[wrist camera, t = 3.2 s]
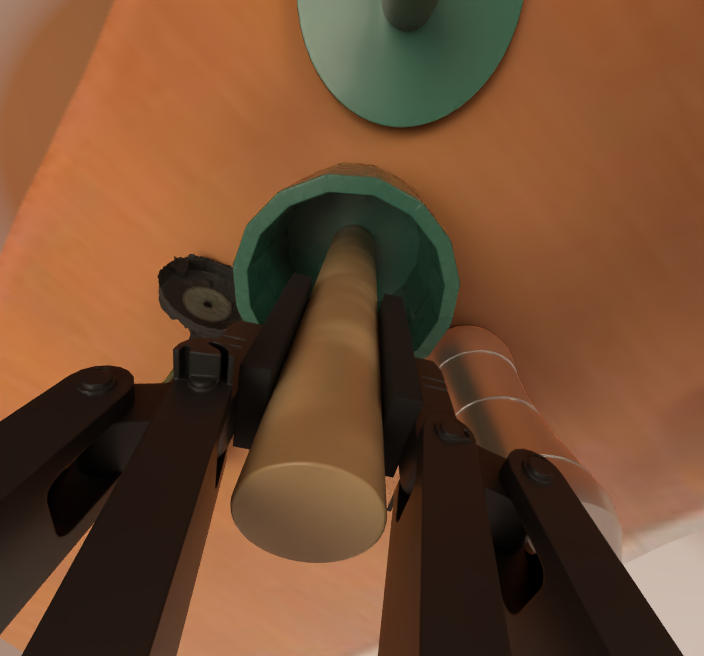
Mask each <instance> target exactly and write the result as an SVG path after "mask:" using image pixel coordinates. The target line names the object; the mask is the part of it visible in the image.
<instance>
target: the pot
mask: <svg viewBox="0 0 704 656" xmlns="http://www.w3.org/2000/svg"><path fill="white" fill-rule="evenodd" d="M347 225H359V226H362V227H364V228H366V229H367V230H368V231H369V232H370V233H371V235H372V236H373V239H374V242H375V259H376V282H377V304H378V313H379V310H380V307H381V303H382V300H383V296H384V293H385V294H389V295H394V296H398V297H402V298H403V303H404V308H405V313H406V318H407V323H408V327H409V332H410V337H411V342H412V347H413V352H414V357H417V358H421V359H425V358H427V356H429V355H430V353H431V352H432V351H433V349H434V348H435V346H436V345H437V344H438V342H439V341H440V339H441V338H442V337H443V335H444V334H445V332H446V331H447V330H448V328H449V327H450V325H451V323H452V319H453V314H454V310H455V305H456V301H457V296H458V292H459V287H460V280H459V275H458V270H457V266H456V261H455V256H454V251H453V247H452V242H451V241H450V238H449V237H448V235H447V234H446V233H445V231H444V230H443V229H442V227H441V226H440V225H439V223H438V222H437V221H436V219H435V218H434V217H433V215H432V214H431V213H430V211H429V210H428V209H427V207H426V206H425V205H424V203H423V202H422V201H421V200H420V199H419V198H418V197H417V195H416V194H415V193H414V192H413V191H412V190H411V189H410V187H409V186H408V185H407V184H406V183H405V182H404V181H403V180H401V179H399V178H397V177H396V176H394V175H392V174H391V173H389V172H387V171H385V170H383V169H381V168H379V167H377V166H375V165H365V164H352V163H340V164H337V165H335V166H332V167H329V168H327V169H324V170H321V171H319V172H316V173H313V174H311V175H309V176H307V177H306V178H304V179H302V180H300V181H298V182H296V183H294V184H292V185H290V186H288V187H287V188H285V189H283V190H281V191H280V192H278V193H277V194H276V195H275V196H274V197H273V198H272V199H271V200H270V201H269V202H268V203H267V204H266V205H265V206H264V207H263V208H262V209H261V210H260V211H259V212H258V213H257V215H256V216H255V217H254V218H253V219H252V220H251V221H250V222H249V223H248V224H247V226H246V228H245V231H244V234H243V237H242V240H241V243H240V246H239V249H238V251H237V254H236V257H235V260H234V263H233V275H234V285H235V296H236V306H237V309H238V311H239V313H240V315H241V317H242V319H243V321H247V322H251V323H256V324H261V325H263V324H264V323H265V321H266V319H267V317H268V316H269V314H270V312H271V311H272V309H273V307H274V306H275V304H276V302H277V301H278V299H279V297H280V295H281V294H282V292H283V290H284V289H285V287H286V285H287V284H288V282H289V280H290V279H291V277H292V275H293V273H298V274H302V275H306V276H311V277H312V283H311V288H310V294H309V298H310V295H311V293H312V290H313V288H314V285H315V283H316V280H317V278H318V275H319V272H320V270H321V267H322V265H323V262H324V260H325V257H326V255H327V252H328V250H329V247H330V245H331V242H332V239H333V237H334V235H335V234H336V232H337V231H338V230H339V229H341V228H342V227H344V226H347Z"/></svg>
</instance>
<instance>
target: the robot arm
mask: <svg viewBox="0 0 704 656" xmlns="http://www.w3.org/2000/svg"><path fill="white" fill-rule="evenodd" d="M311 283H312V277H311V276H306V275H302V274H298V273H293V275H292V277H291V279H290V280H289V282H288V284H287V285H286V287H285V289H284V290H283V292H282V294H281V295H280V297H279V299H278V301H277V302H276V304H275V306H274V307H273V309H272V311H271V312H270V314H269V316H268V317H267V319H266V321H265V323H264V324H263V325H261V324H256V323H251V322H247V321H242V320H240V321H238V322H236V323H234V324H232V325H230V326H229V327H228V328H227V329H226V330H225V332H224V333H223V334H222V336H221V337H220V338H219V339H218V340H217V339H213V338H195V339H189V340H187V341H184V342H182V343H180V344H178V345H177V346H176V347H175V348H174V349H173V367H174V379H173V381H172V382H168V383H157V384H134V377H133V376H132V374H131V373H130V372H129V371H128V370H126V369H123V368H121V367H116V366H109V365H107V366H94V367H90V368H86V369H82V370H80V371H78V372H76V373H74V374H71V375H69V376H68V377H66V378H65V379H63V380H62V381H60V382H59V383H57V384H56V385H54V386H53V387H51V388H50V389H48V390H47V391H45V392H44V393H42V394H41V395H39V396H38V397H36V398H35V399H33V400H32V401H30V402H29V403H27V404H26V405H24V406H23V407H21V408H20V409H18V410H17V411H15V412H14V413H12V414H11V415H9V416H8V417H6V418H5V419H3V420H2V421H0V634H1V633H2V632H3V631H4V629H5V628H6V627H7V626H8V625H9V623H10V622H11V621H12V620H13V619H14V618H15V616H16V615H17V614H18V613H19V612H20V610H21V609H22V608H23V607H24V606H25V604H26V603H27V602H28V601H29V600H30V598H31V597H32V596H33V595H34V594H35V592H36V591H37V590H38V589H39V588H40V587H41V585H42V584H43V583H44V582H45V581H46V579H47V578H48V577H49V576H50V575H51V573H52V572H53V571H54V570H55V569H56V567H57V566H58V565H59V564H60V563H61V561H62V560H63V559H64V558H65V557H66V556H67V554H68V553H69V552H70V551H71V550H72V548H73V547H74V546H75V545H76V544H77V542H78V541H79V540H80V539H81V538H82V536H83V535H84V534H85V533H86V532H87V531H88V529H89V528H90V527H91V526H92V525H93V523H94V522H95V523H94V525H93V526H92V528H91V530H90V532H89V534H88V536H87V537H86V539H85V541H84V543H83V545H82V547H81V548H80V550H79V552H78V554H77V556H76V557H75V559H74V561H73V563H72V565H71V567H70V568H69V570H68V572H67V574H66V576H65V577H64V579H63V581H62V583H61V585H60V587H59V588H58V590H57V592H56V594H55V596H54V597H53V599H52V601H51V603H50V605H49V607H48V608H47V610H46V612H45V614H44V616H43V617H42V619H41V621H40V623H39V625H38V627H37V628H36V630H35V632H34V634H33V636H32V638H31V639H30V641H29V643H28V645H27V647H26V648H25V650H24V652H23V654H22V656H176V655H177V651H178V647H179V643H180V639H181V636H182V632H183V628H184V624H185V620H186V616H187V612H188V608H189V604H190V600H191V597H192V593H193V589H194V585H195V581H196V577H197V573H198V569H199V565H200V561H201V557H202V554H203V550H204V546H205V542H206V538H207V534H208V530H209V526H210V522H211V518H212V514H213V511H214V507H215V503H216V499H217V495H218V491H219V487H220V483H221V479H222V475H223V471H224V468H225V464H226V459H227V447H228V445H229V443H230V441H231V439H232V436H233V434H234V437H233V446H235V447H240V448H245V449H250V448H251V445H252V443H253V440H254V438H255V435H256V433H257V430H258V427H259V425H260V422H261V420H262V417H263V415H264V412H265V410H266V407H267V405H268V402H269V400H270V397H271V394H272V392H273V389H274V387H275V384H276V382H277V379H278V377H279V374H280V372H281V369H282V366H283V364H284V361H285V359H286V356H287V354H288V351H289V349H290V346H291V344H292V341H293V339H294V336H295V333H296V331H297V328H298V326H299V323H300V321H301V318H302V316H303V313H304V311H305V308H306V306H307V303H308V300H309V294H310V288H311ZM378 327H379V349H380V372H381V394H382V417H383V440H384V462H385V476H388V477H394V474H395V472H396V469H397V467H398V464H399V473H400V479H399V482H398V484H397V486H396V489H395V491H394V493H393V496H392V498H391V500H390V503H389V505H388V508H387V511H390V512H391V510H392V507H393V511H392V521H391V531H390V541H389V551H388V561H387V571H386V580H385V590H384V600H383V610H382V620H381V630H380V640H379V650H378V656H683V654H682V653H681V651H680V650H679V648H678V647H677V645H676V644H675V642H674V641H673V639H672V638H671V636H670V635H669V633H668V632H667V630H666V629H665V627H664V626H663V625H662V623H661V621H660V620H659V618H658V617H657V615H656V614H655V612H654V611H653V609H652V608H651V606H650V605H649V603H648V602H647V600H646V599H645V598H644V596H643V594H642V593H641V591H640V590H639V588H638V587H637V585H636V584H635V582H634V581H633V579H632V578H631V576H630V575H629V573H628V572H627V570H626V569H625V567H624V566H623V564H622V563H621V561H620V560H619V558H618V557H617V555H616V554H615V552H614V551H613V549H612V548H611V546H610V545H609V543H608V542H607V540H606V539H605V537H604V536H603V534H602V533H601V531H600V530H599V528H598V527H597V525H596V524H595V522H594V521H593V519H592V518H591V516H590V515H589V513H588V512H587V510H586V509H585V507H584V506H583V504H582V503H581V501H580V500H579V498H578V497H577V495H576V494H575V492H574V491H573V489H572V488H571V486H570V485H569V483H568V482H567V480H566V479H565V477H564V476H563V474H562V473H561V472H560V471H559V470H558V468H557V467H556V466H555V465H554V464H553V463H551V462H550V461H549V460H548V459H546V458H545V457H543V456H542V455H540V454H538V453H536V452H534V451H530V450H527V449H515V450H513V451H512V452H510V453H509V455H508V457H507V458H504V457H502V456H500V455H498V454H495V453H493V452H491V451H489V450H486V449H484V448H483V447H481V446H479V445H477V444H476V440H475V438H474V435H473V433H472V431H471V430H470V429H469V428H468V427H467V426H466V425H465V424H464V423H462V422H461V421H460V420H458V419H457V418H456V415H455V412H454V409H453V405H452V402H451V399H450V396H449V393H448V392H447V390H448V389H447V386H446V383H445V380H444V377H443V373H442V371H441V370H440V368H439V367H438V366H437V365H436V364H435V363H434V361H430V360H426V359H421V358H417V357H414V352H413V347H412V342H411V337H410V332H409V327H408V323H407V318H406V313H405V308H404V303H403V298H402V297H398V296H394V295H389V294H385V293H384V296H383V300H382V303H381V307H380V310H379V313H378ZM529 539H530V540H531V543H532V545H533V547H534V549H535V551H536V553H535V552H534V551H533V550H532V548H531V546H530V544H529V542H528V540H529Z"/></svg>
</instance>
